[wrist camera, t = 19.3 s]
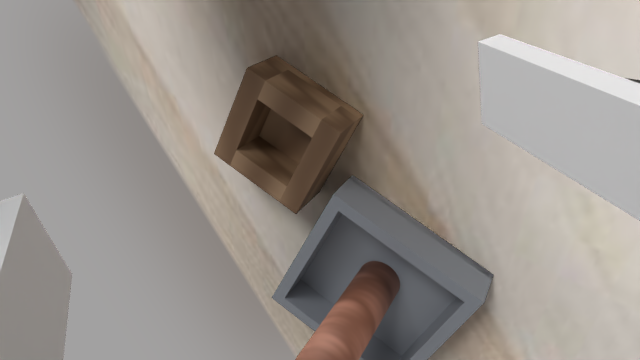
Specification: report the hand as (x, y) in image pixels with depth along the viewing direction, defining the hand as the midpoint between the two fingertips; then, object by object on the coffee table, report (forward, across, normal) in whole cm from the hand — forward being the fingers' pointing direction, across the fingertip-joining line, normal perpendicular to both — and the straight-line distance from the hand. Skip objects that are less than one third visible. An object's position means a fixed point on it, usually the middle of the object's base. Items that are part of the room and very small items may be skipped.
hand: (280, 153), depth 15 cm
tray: (+26, +11, -31) cm, 42 cm away
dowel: (+26, +10, -31) cm, 41 cm away
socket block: (+33, +7, -15) cm, 37 cm away
